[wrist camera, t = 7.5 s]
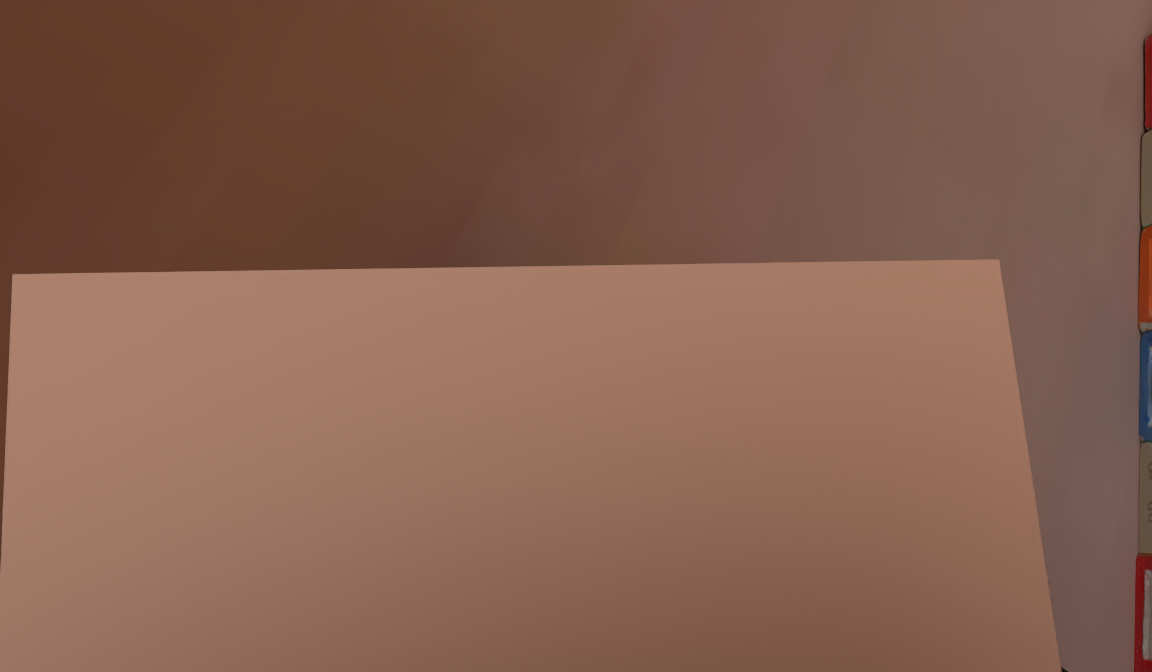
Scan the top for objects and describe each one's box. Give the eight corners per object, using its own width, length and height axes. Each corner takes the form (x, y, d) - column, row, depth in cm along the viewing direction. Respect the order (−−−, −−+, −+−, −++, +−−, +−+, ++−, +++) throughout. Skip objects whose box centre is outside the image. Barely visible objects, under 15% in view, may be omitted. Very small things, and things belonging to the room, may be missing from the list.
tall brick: (628, 775, 15) (1159, 1307, 5) (271, 820, 14) (-44, 1630, 4) (603, 432, 16) (999, 260, 6) (267, 449, 15) (12, 273, 5)
